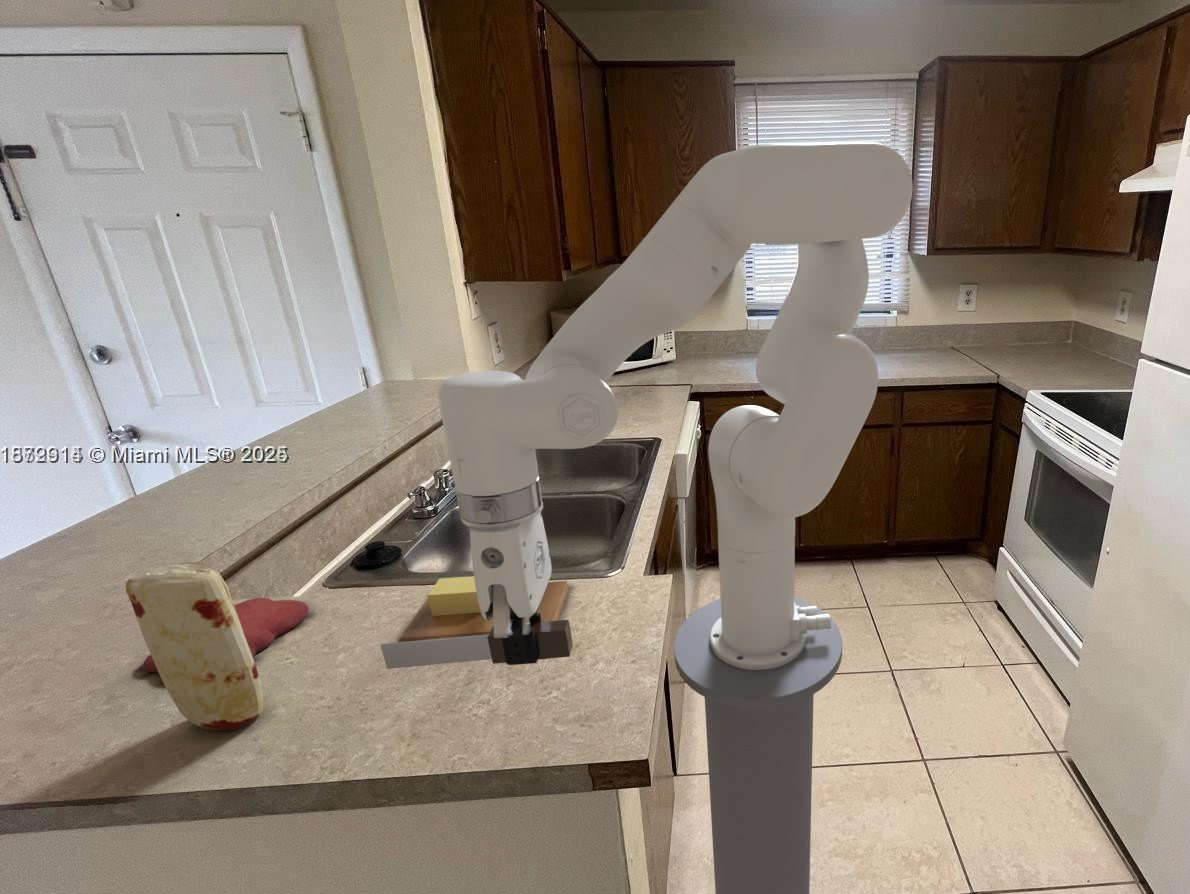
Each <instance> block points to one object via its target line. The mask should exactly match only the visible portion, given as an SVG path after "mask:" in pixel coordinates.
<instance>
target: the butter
mask: <svg viewBox="0 0 1190 894" xmlns="http://www.w3.org/2000/svg"><path fill="white" fill-rule="evenodd" d="M427 599H428V600H429V604H430V609H431V613H432V616H441V615H455V614H468V613H481V611H480V607H479V603H478V598H477V593H476V586H475V580H474V575H473V576H457V577H444V578H443V577H442V578H439V579H437V582H435V584H434V585H433V587H432V588H431V590H430V591H429V592H428V594H427Z"/></svg>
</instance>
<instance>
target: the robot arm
mask: <svg viewBox="0 0 1190 894" xmlns="http://www.w3.org/2000/svg"><path fill="white" fill-rule="evenodd" d="M911 173H912V172H911V169H910V167H909V165H908V163H907V161H906V160H905V159H904V157H903V156H902V155H901V154H900V153H899V152H898V151H897V150H896V149H894V148H892V147H891V146H889V145H886V144H884V143H882V142H881V143H880V142H875V141H865V142H863V141H862V142H861V141H860V142H828V143H763V144H754V145H748V146H745V147H742V148H739V149H735V150H732V151H728V152H725V153H721V154H719V155H716V156H714V157H712V158H711V159H710V160H708V161H706V163H705V164H704V165H703V166H702V167H701V168H699V170H698V171H697V172H696V174H695V175H694V176H693V177H692V178H691V179H690V180H689V182H688V183H687V184H686V185H685V187H684V188H683V190H681V192H680V193H679V194H678V195H677V197H676V198H675V199H674V201H673V202H672V203H671V204H670V205H669V207H668V208H667V209H666V211H665V212H664V213H663V214H662V215H661V217H660V218H659V219H658V221H656V223H655V225H654V226H653V227H652V228H651V229H650V230H649V232H648V233H647V234H646V235H645V237H643V239H642V240H641V242H640V243H639V244H638V245H637V246H636V247H635V249H634V250H633V251H632V252H631V254H630V255H629V256H628V257H627V258H626V259H625V261H624V262H623V263H622V264H621V265H620V266H619V267H617V269H615V271H613V272H612V273H611V274H610V275H609V276H608V278H606V280H605V281H604V282H603V283H602V284H601V285H600V286H599V287H598V288H597V289H596V290H595V291H594V292H593V293H592V294H591V295H590V296H588V298H587V299H586V300H584V302H583V303H581V305H580V306H579V307H578V308H577V309H576V310H575V311H574V312H573V313H572V314H571V316H570V317H568V319H567V320H565V322H564V323H563V324H562V326H561V327H560V328H559V329H558V331H557V332H556V333H555V334H554V335H553V337H552V338H551V339H550V341H549V342H548V343H547V344H546V345H545V346H544V348H543V349H542V351H541V352H540V353H539V355H538V356H537V357H536V358H535V360H534V361H533V363H532V364H531V365H530V367H529V369H528V371H527V374H526V375H525V378H524V379H522V377H520V376H519V375H518V374H516V373H514V372H510V371H505V370H504V371H503V370H481V371H480V370H479V371H471V372H464V373H460V374H456V375H454V376H451V377H449V378H447V379H445V380H444V381H443V382H442V383H441V384H440V386H439V389H438V395H437V396H438V404H439V410H440V415H441V421H442V425H443V426H442V427H443V430H444V437H445V442H446V446H447V447H446V448H447V453H448V457H449V463H450V468H451V472H452V480H453V484H454V487H455V495H456V499H457V505H458V510H459V515H460V520H461V521H460V522H462V524H464V525H465V526H466V527H469V541H470V554H471V563H472V571H473V576H474V580H475V586H476V593H477V598H478V603H479V607H480V611H481V614H482V616H483V617H484V618H485V619H486V620H490V619H491V618H492V617H493V625H494V638H502V642H503V648H504V654H505V659H506V663H505V664H506V665H508V666H519V665H529V664H532V665H533V664H537V662H538V650H537V644H536V637H535V631H534V629H530V623H538V622H542V621H541V615H540V613H535V612H538V611H539V604H540V602H541V599H542V597H543V594H544V592H545V590H546V587H547V584H548V582H550V579H551V576H552V570H553V567H552V566H553V565H552V561H551V555H550V548H549V545H548V538H547V533H546V529H545V524H544V523H545V522H544V519H543V516H542V511H543V509H544V503H543V495H542V489H541V481H540V474H539V469H538V461H537V460H538V459H537V453H536V450H537V449H538V450H576V449H584V448H589V447H592V446H595V445H598V444H600V443H601V442H602V441H604V440H605V439H606V438H607V437H608V436H610V435H611V433H612V432H613V430H614V428H615V427H616V424H617V421H618V416H619V408H618V402H617V398H616V397H615V394H614V393H613V391H612V389H611V387H610V386H609V385H608V384H607V382H608V381H609V380H610V379H611V377H612V376H613V375H614V374H615V373H616V371H617V370H618V369H619V368H620V367H621V365H622V364H623V363H624V362H625V361H626V360H627V359H628V358H629V357H631V355H632V354H633V353H635V352H636V351H637V350H638V349H639V348H641V347H642V346H643V345H645V344H646V343H648V342H649V341H651V340H653V339H655V338H657V337H660V336H662V335H664V334H665V335H666V334H668V333H670V332H673V331H675V330H677V329H679V328H681V327H683V326H685V325H686V324H688V323H689V322H691V321H692V320H693V319H694V318H696V316H697V315H698V314H699V313H700V312H701V311H702V309H703V307H704V306H705V305H706V304H707V303H708V301H709V300H710V299H711V297H712V296H713V295H714V294H715V292H716V291H717V290H718V289H719V288H720V286H721V285H722V284H723V282H724V281H725V280H726V278H728V277H729V274H731V272H732V271H733V269H734V268H736V266H737V265H738V263H739V262H740V261H741V260H742V258H743V257H744V256H745V255H746V254H747V252H748V251H749V250H750V249H751V247H753V246H754V245H755V246H781V245H782V246H783V245H785V246H787V245H796V252H797V264H796V269H795V272H794V277H793V279H792V282H791V284H790V287H789V289H788V292H787V294H786V297H785V299H784V300H783V302H782V304H781V306H780V308H779V311H778V313H777V315H776V317H775V319H774V322H773V324H772V326H771V328H770V330H769V332H768V334H767V336H766V338H765V340H764V342H763V345H762V347H761V349H760V350H759V353H758V355H757V359H756V363H755V375H756V380H757V383H758V384H759V385H758V386H760V388H761V389H762V390H763V392H765V393H766V394H767V395H768V396H769V397H771V398H772V399H774V400H776V401H777V402H779V403H781V404H783V405H784V406H783V408H782V410H781V412H780V414H778V413H776V412H774V411H773V410H771V409H768V408H765V407H763V406H759V405H751V404H747V405H740V406H736V407H734V408H731V409H729V410H727V411H726V412H725V413H723V414H722V415H721V416H720V417H719V418H718V420H716V422H715V424H714V425H713V428H712V430H711V432H710V435H709V440H708V449H707V450H708V463H709V471H710V476H711V480H712V486H713V493H714V497H715V506H716V518H717V520H716V522H717V546H718V572H719V593H720V594H719V595H720V598H719V599H721V618H719V619H718V620H717V621H716V623H715V624H714V625H713V627H712V629H711V634H710V642H711V647H712V650H713V651H714V653H715V654H716V655H717V656H718V657H719V658H720V659H721V660H722V661H724V662H726V663H727V664H729V665H732V666H734V667H737V668H741V669H747V670H767V669H773V668H777V667H780V666H783V665H785V664H787V663H789V662H791V661H792V660H794V659H795V658H796V657H797V656H798V655H799V654H800V653H801V652H802V650H803V649H804V647H805V643H806V633H807V630H815V629H816V630H823V629H830V628H831V620H830V618H831V616H830V614H829V613H826V614H821V615H818V612H817V607H818V606H817V605H815V606H809V607H802V608H800V607H799V606H796V604H795V601H794V597H795V580H796V579H795V578H796V577H795V567H796V566H795V565H796V564H795V563H796V561H795V560H796V556H795V555H796V554H795V553H796V551H795V550H796V518H798V517H801V516H804V515H806V514H808V513H810V512H811V511H813V510H814V509H815V508H816V507H818V506H819V505H820V504H821V503H822V502H823V500H824V499H825V498H826V497H827V495H828V494H829V492H830V491H831V489H832V488H833V486H834V484H835V482H836V480H837V479H838V476H839V475H840V473H841V471H842V469H843V467H844V465H845V462H846V461H847V459H848V457H849V454H850V453H851V451H852V448H853V447H854V445H855V442H856V441H857V438H858V437H859V434H860V433H861V430H862V429H863V427H864V425H865V423H866V420H867V418H868V417H869V415H870V413H871V410H872V408H873V405H874V402H875V399H876V395H877V392H878V386H879V385H878V383H879V368H878V363H877V360H876V358H875V355H874V353H873V351H872V349H871V348H870V347H869V346H868V345H867V344H866V343H865V342H864V341H863V340H862V339H860V338H858V337H857V336H855V335H853V334H852V332H853V330H854V327H855V325H856V323H857V320H858V318H859V315H860V313H861V311H862V309H863V306H864V305H865V302H866V298H867V294H868V290H869V280H870V279H869V277H870V274H869V273H870V272H869V263H868V257H867V252H866V248H865V244H864V241H863V239H871V238H872V239H873V238H877V237H880V236H882V235H885V234H887V233H889V232H890V231H891V230H893V229H894V228H896V226H898V225H899V223H900V222H901V221H902V220H903V218H904V217H905V216H906V213H907V212H908V210H909V208H910V206H911V202H912V198H913V191H914V190H913V189H914V187H913V186H914V185H913V177H912V174H911Z"/></svg>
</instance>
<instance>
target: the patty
mask: <svg viewBox="0 0 1190 894" xmlns="http://www.w3.org/2000/svg"><path fill="white" fill-rule="evenodd" d="M234 607H235V610H236V612H237V615H238V618H239V621H240V623H241V626H242V629H243V632H244V635H245V637H246V640H247V643H248V646H249V649H250V651H251V654H252V657H253V659H254V658H255V657H256V654H257V653H259V652H261V651H263V650H264V649H266V648H268V647H269V646H270V645H271V644H272V643H273V642H274V639H276V638H277V637H279V636H281V635H283V634H285V633H286V632H289V631H291V630H292V629H294V628H296V627H297V626H298V625H299V624H301V623H302V622H303V621H304V620H306V618H307V617H308V614H309V611H310V610H309V607H308V605H307V604H306V603H304V602H303V601H299V600H295V599H282V600H281V599H279V600H272V599H270V598H267V597H254V598H251V599H246V600H244V601H242V602H239V603H236V604H234ZM142 667H143V669H144V671H146V672H149V673H159V672H158V669H157V667H156V665H155V663H154V660H153V658H152V656H151V654H149V655H148V656H147V657H146V658H145V659H144V661H143V664H142Z"/></svg>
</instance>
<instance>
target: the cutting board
mask: <svg viewBox="0 0 1190 894" xmlns="http://www.w3.org/2000/svg"><path fill="white" fill-rule="evenodd" d="M569 589H570V588H569V580H561V581H560V580H559V581H549V582H548V584H547V587H546V590H545V592H544V594H543V597H542V599H541V602H540V604H539V611H538V612H535V613H540V615H541V621H542V622H549V621H559V620H560V617H561V613H562V610H563V608H564V605H565V600H566V598H567V596H568V593H569ZM493 626H494V625H493V617H492V618H491V619H490V620H486V619H485V618H484V617H483V616H482V614H481V613H468V614H455V615H441V616H432V613H431V609H430V604H429V600H428V598H427V599H426V600H425V602H423V605H422V606H421V607H420V608H419V610H418V611H417V613H416V614H415V616H414V617H413V618H412V620H411V621H410V623H409V624H408V625H407V626H406V628H405V629H404V631H403V633H402V634H401V635H400V636H399V638H398V641H399V642H408V641H419V640H430V639H442V638H453V637H464V636H476V635H487V634H489V633H490V631H491V629H492V627H493Z"/></svg>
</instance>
